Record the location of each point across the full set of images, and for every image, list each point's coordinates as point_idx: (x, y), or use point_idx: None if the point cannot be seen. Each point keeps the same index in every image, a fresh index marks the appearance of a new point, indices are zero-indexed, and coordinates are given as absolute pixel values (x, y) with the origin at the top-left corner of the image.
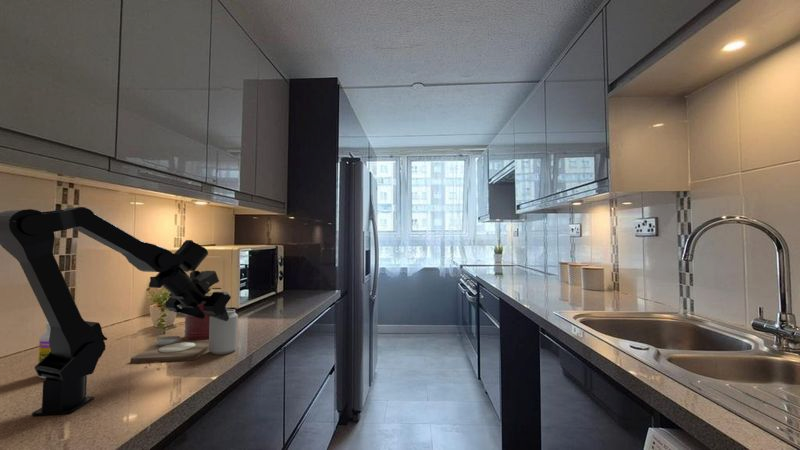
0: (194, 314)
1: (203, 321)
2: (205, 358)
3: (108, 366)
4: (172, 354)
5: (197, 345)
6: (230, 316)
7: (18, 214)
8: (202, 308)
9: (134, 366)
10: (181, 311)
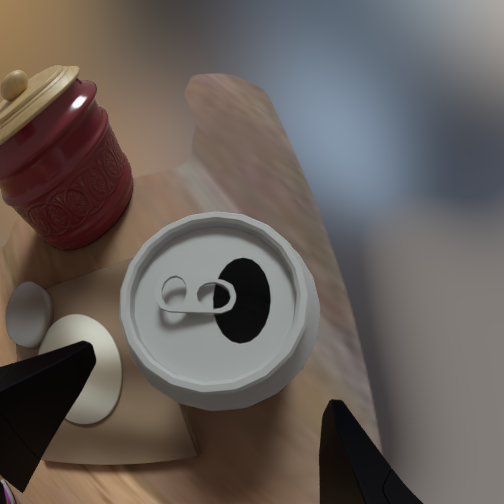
0: (55, 419)
1: (61, 204)
2: (228, 433)
3: None
4: (109, 442)
5: (119, 335)
6: (308, 342)
7: None
8: (31, 171)
9: (75, 488)
10: (19, 488)
